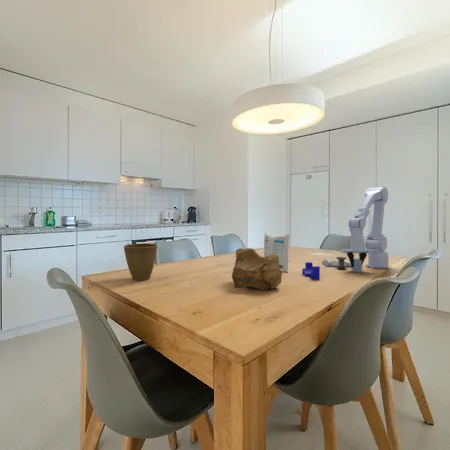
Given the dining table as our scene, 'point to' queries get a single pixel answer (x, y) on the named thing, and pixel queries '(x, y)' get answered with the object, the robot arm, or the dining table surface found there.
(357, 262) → the blue-grey block
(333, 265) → the grey railed square plate
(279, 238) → the pouch
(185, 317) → the dining table surface
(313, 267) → the cable clip
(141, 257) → the plant pot
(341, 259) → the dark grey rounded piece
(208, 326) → the dining table surface
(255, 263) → the rough brown rock
